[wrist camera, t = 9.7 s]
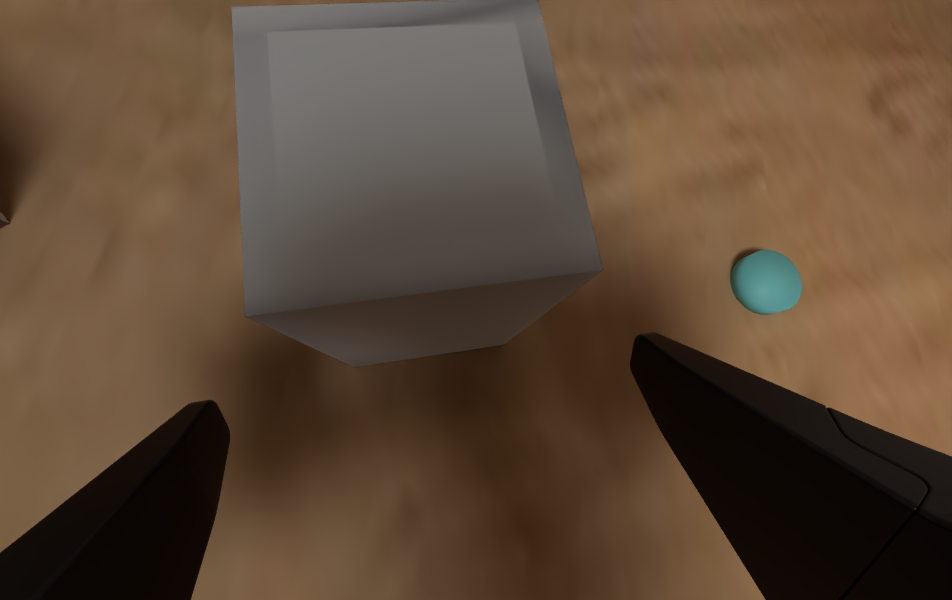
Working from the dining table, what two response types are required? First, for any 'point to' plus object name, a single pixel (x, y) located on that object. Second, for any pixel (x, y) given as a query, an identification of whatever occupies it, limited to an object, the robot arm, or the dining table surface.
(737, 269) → the teal rounded object
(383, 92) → the grey bordered box
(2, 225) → the food container
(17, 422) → the dining table surface
